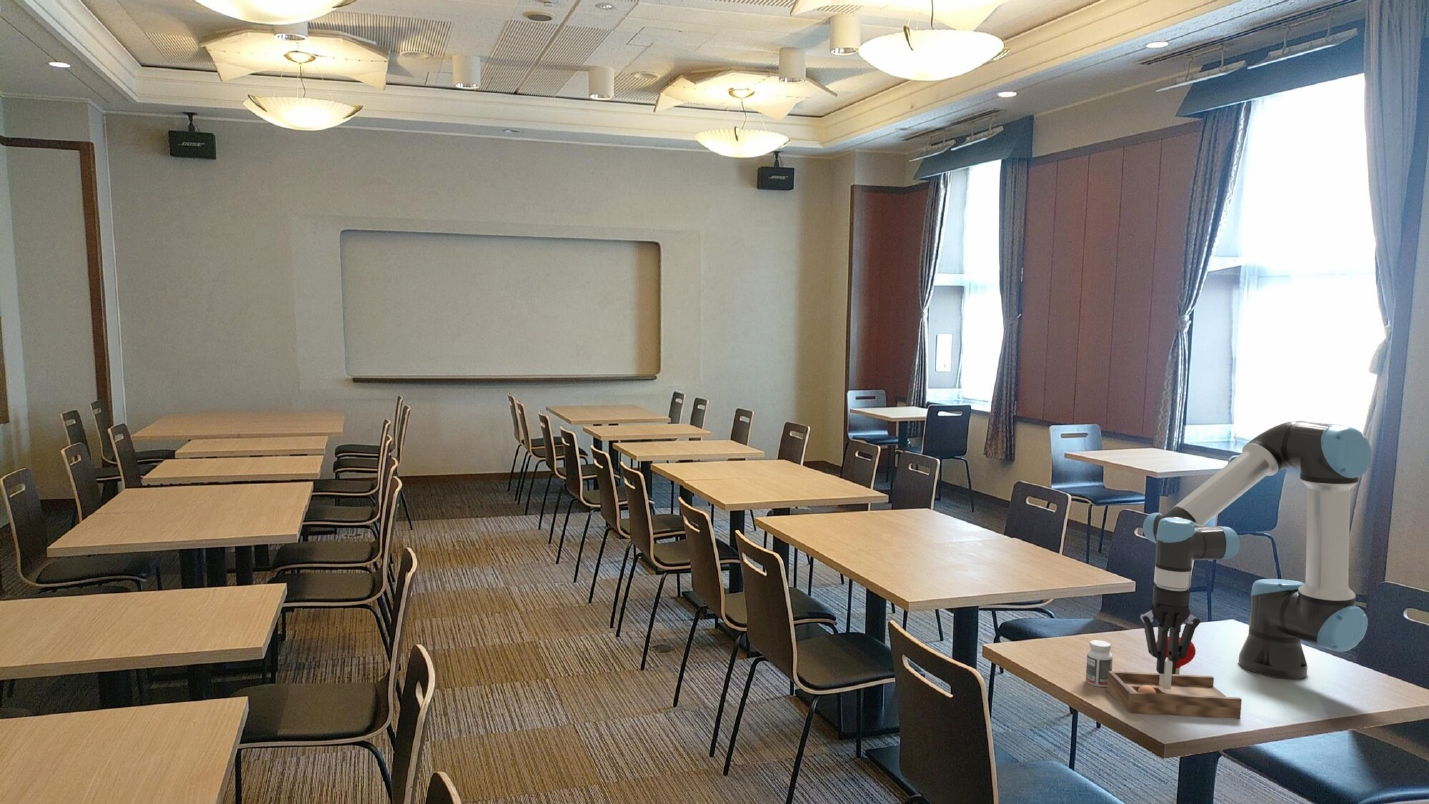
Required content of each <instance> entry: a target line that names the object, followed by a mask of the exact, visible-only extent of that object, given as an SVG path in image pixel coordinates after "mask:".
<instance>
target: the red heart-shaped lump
mask: <svg viewBox="0 0 1429 804" xmlns="http://www.w3.org/2000/svg"><path fill="white" fill-rule="evenodd" d="M1180 639H1181V636H1179V642H1180ZM1156 645H1157V641H1156ZM1168 645H1169V635H1168V639H1167V652H1166V658H1169V657H1168ZM1196 652H1197V651H1196V647H1195V644H1194V643H1193V642H1192V641H1191V643H1190V646H1189V649H1188V652H1187V655H1186V658H1185V659H1179V662H1177V663H1176V673H1175V674H1179V675H1180V673H1181V672H1180V670H1181V667H1184V666H1185V665H1187V664H1189V663H1190V662H1192V660H1193V659H1194V658H1195V656H1196Z"/></svg>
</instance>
